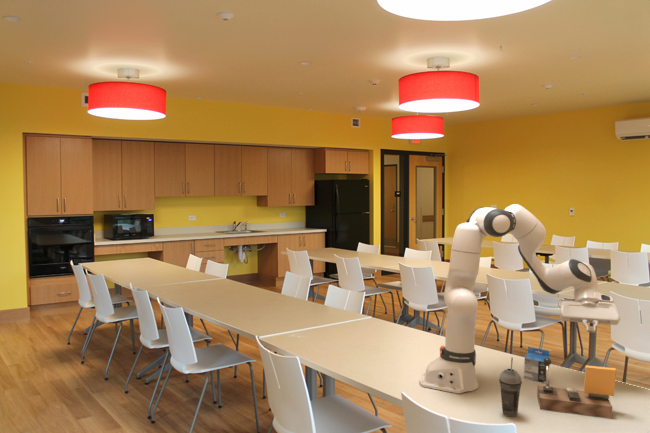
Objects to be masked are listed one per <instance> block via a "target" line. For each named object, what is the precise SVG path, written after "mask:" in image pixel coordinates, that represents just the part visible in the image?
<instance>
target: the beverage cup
mask: <svg viewBox="0 0 650 433" xmlns="http://www.w3.org/2000/svg"><path fill="white" fill-rule="evenodd" d="M513 361H514V357H512V356H511V357H510V368H506V369H503V370H502V371H501V373H500V375H499V379H498V381H499V387H500V398H501V409H502V415H503V416H504V417H505V418H506V417H507V418H511V419H512V418H513V419H515V418H517V417H518V411H519V402H520V393H521V392H520V391H521V388H522V384H523V382H522V377H521V375H520V374H519V372H518V371H517V370H515V369H513Z"/></svg>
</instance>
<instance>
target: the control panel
mask: <svg viewBox="0 0 650 433" xmlns="http://www.w3.org/2000/svg"><path fill="white" fill-rule="evenodd" d="M543 386H544V385H537V388H536V389H537V391H536V393H537V395H536V396H537V397H536V398H537V402H538V407H539V409H540V411H541V410H544V411H552V412H559V413H567V414H574V415H582V416H589V417H597V418H607V419H613V405H612V404H611V402H610V399H607V398H598V397H589V395H588V393H584V390H580V389H576V388H574V387H566V388H562V387H553V386H552V387H553V392H546V391H543Z"/></svg>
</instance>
